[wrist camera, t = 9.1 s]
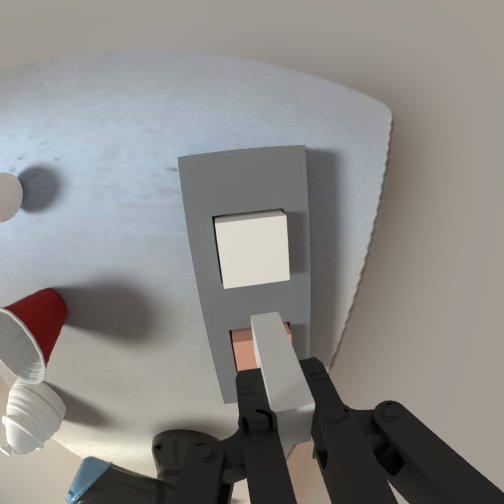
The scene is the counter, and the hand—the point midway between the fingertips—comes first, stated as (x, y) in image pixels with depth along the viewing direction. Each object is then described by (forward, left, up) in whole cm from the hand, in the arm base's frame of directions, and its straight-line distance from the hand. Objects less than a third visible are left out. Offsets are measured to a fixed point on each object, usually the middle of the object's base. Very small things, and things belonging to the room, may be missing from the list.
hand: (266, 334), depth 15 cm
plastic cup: (-6, +29, -19) cm, 35 cm away
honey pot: (-28, +46, -19) cm, 57 cm away
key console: (-6, -1, -19) cm, 20 cm away
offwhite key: (+1, -1, -16) cm, 16 cm away
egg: (+11, +30, -19) cm, 37 cm away
